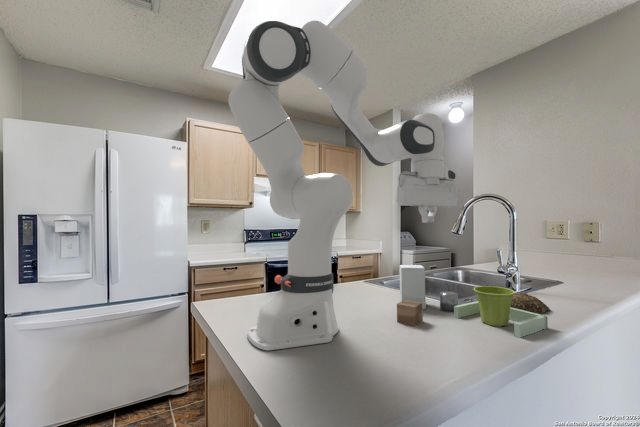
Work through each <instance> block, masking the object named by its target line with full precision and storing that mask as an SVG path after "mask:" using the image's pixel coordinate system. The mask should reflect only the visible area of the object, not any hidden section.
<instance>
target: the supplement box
mask: <svg viewBox="0 0 640 427" xmlns="http://www.w3.org/2000/svg"><path fill="white" fill-rule="evenodd" d="M425 270H426V269H425V267H424V266H423V265H422V264H400V265H399V272H398V273H399V303H400V302H402V301H404V300H408V301H414V302H419V303H422V308H423V310H425V309H427V307H426V305H427V304H426V303H427V302H426V301H427V300H426V271H425Z"/></svg>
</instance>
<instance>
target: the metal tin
mask: <svg viewBox="0 0 640 427" xmlns="http://www.w3.org/2000/svg"><path fill="white" fill-rule="evenodd" d="M458 298H459V297H458V293H457V292H453V291H440V292H439V309H440V311H442V312H446V313H454V306H457V305H459V302H458V300H459V299H458Z"/></svg>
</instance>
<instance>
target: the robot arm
mask: <svg viewBox="0 0 640 427" xmlns="http://www.w3.org/2000/svg"><path fill="white" fill-rule="evenodd" d="M241 65H242V66H241V67H242V76H243V77H242V78H243V80H242V81H240V82H239V83H237V84H236V85H235V86H234V87H233V88H232V89H231V91H230V93H229V94H228V101H227V102H228V107H229V108H230V109H229V110H230V111H231V114H232V117H233V118H234V120H235V122H236V124H237V126H238V128H239V130H240V131H241V133H242V135H243V137H244V139H245V140H246V142H247V144H248V145H249V146H250V148H251V150H252V151H253V153H254V155H255V156H256V157H257V160H258V161H259V162H260V164H261V166H262V168H263V169H264V171H265V174H266V176H267V178H268V182H269V186H270V194H269V204H270V207H271V209H272V211H273V212H274V213H275V214H276V215H277V216H279V217H283V218H287V219H288V220H289V219H290V220H299V224H298V228H297V231H296V233H295V234H294V236H293V237H291V239H290V240H289V241H288V244H287V274H286V275H284V276H281V275H280V274H277V275H276V276H275V277H274V282H275V284H277V285H280V290H279V291H278V292H277V293H276V294H274V295H273V296H272V297H271V298H269V300H268V301H267V302H265V303H264V304H263V305H262V306H261V307H260V308H259V310H258V315H257V321H256V325H253V326H251V327H249V329H248V330H247V339H248V340H249V342H250V343H251V344H252V345H253V346H254V347H256V348H258V349H260V350H262V351H273V350H274V351H275V350H280V349H281V350H282V349H290V348H296V347H298V348H299V347H303V346H311V345H318V344H325V343H330V342H332V341H333V338H334V336H335V335H336V334H338V333H339V330H340V327H339V323H338V320H337V317H336V312H335V307H334V306H335V305H334V299H333V298H334V297H333V293H334V273H333V272H332V248H333V241H334V235H335V232H336V229H337V227H338V224H339V222H340V220H341V219H342V218H343V217H344V215H346V214H347V212H348V211H349V210H350V208H351V207H352V205H353V202H354V190H353V186H352V184H351V182H350V180H349V179H348V178H347V177H346V176H345V175H343V174H341V173H333V172H320V173H314V174H310V175H307V174H306V172H305V171H304V167H303V163H302V159H303V157H304V154H305V150H306V147H305V144H304V142H303V140H302V139H301V137H300V135H299V133H298V131H297V130H296V127H295V126H294V124H293V122H292V120H291V119H290V117H289V115H288V114H287V112H286V110H285V108H284V107H283V105H282V102H281V100H280V96H279V95H280V94H279V88H280V85H282V84H284V83H286V82H287V81H288V80H290V79H292V78H294V76H295V75H297V74H301V75H302V76H303V77H304V76H305V77H306V78H308V79H309V80H310V81H311V82H312V83H313V84H314V85H315V86H316V87H317V88H318V89H319V90H320V91H321V92H322V93H323V94H324V95H325V96H326V99H328V101H329V102H330V107H331V110H332V111H333V114H334V115H335V116H336V118H337V119H338V120H339V122H340V123H341V124H342V125H343V127H345V129H346V130H347V131H348V132H349V134H351V136H352V137H353V138H354V139H355V140H356V142H357V143H358V144H359V146H360V147H361V148H362V150H363V152H364V154H365V156H366V157H367V159H368V160H369V161H370V163H372V164H373V165H375V166H377V167H385V166H387V165H390V164H393V163H396V162H400V161H403V160H406V159H411V162H410V171H407V170H405V171H404V170H403V171H402V172H401V173H399V175H398V177H397V178H398V179H397V187H396V199H395V200H396V203H397V205H398V206H402V207H404V206H406V207H407V206H408V207H409V206H410V207H418V208H417V209H418V212H419V214H420V215H421V223H423V224H424V223H427V224H430V223H435V216H436V214H437V211H438V208H455V207H456V206H457V204H458V201H459V200H458V199H459V198H458V197H459V196H458V194H459V193H458V192H459V191H458V185H457V182H456V181H457V180H458V173H457V172H455V171H454V170H452V169H451V168H449V167H448V166H447V165H445V158H444V155H443V152H444V148H445V144H444V143H445V137H444V127H443V123H442V120H441V118H440V116H438V115H437V114H435V113H429V112H425V113H420V114H417V115H415V116H414V117H413V118H411V119H408V120H403V121H401V122H398V123H396V124H394V125H391V126H389V127H387V128H383V129H379V128H376V127H374V126H373V125H372V123H371V122H370V120H369V119H368V117H367V116H365V113H363V111H362V110H361V108H360V101H361V99H362V97H363V95H364V93H365V91H366V89H367V86H368V83H369V82H368V81H369V73H368V72H369V71H368V68H367V66H366V63H364V61H363V59H362V58H361V56H359V54H358V53H356V51H355V50H354V49H353V48H352V47H351V46H350V45H349V44H348V42H346V41H345V40H344V39H343V38H342V37H341V36H340V35H339V34H338V33H337V32H335V31H334V30H333V29H331V28H330V27H328V26H327V25H326V24H324V23H323V22H322V21H319V20H310V21H308V22H306V23H304V24H303V25H301V26H300V27H298V26H295V25H290V24H289V23H285V22H283V21H279V20H266V21H263V22H261V23H258V25H255V27H254V28H253V29H252V31H251V32H250V34H249V36H248V37H247V38H246V40H245V43H244V45H243V50H242V56H241Z"/></svg>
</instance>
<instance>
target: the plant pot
mask: <svg viewBox="0 0 640 427" xmlns="http://www.w3.org/2000/svg"><path fill="white" fill-rule="evenodd" d="M473 291H474V292H475V295H476V298H477V301H478V304H479V309H480V313H479V314H480V320H481V322H482V323H485V324H486V325H489V326H491V327H492V326H493V327H494V326H495V327H502V326H505V327H506V326H508V325H509V320H510V319H509V314H510V307H511V300H512V299H513V295H514V294H516V291H515V290H513V289H511V288H507V287H503V286H502V287H501V286H491V285H488V286H487V285H481V286H476V287H475V286H474V287H473Z"/></svg>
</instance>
